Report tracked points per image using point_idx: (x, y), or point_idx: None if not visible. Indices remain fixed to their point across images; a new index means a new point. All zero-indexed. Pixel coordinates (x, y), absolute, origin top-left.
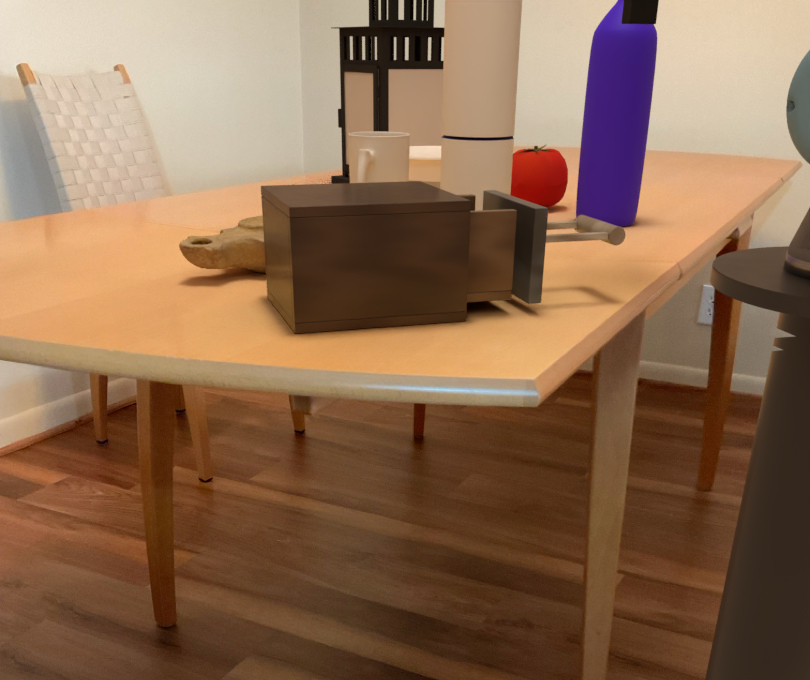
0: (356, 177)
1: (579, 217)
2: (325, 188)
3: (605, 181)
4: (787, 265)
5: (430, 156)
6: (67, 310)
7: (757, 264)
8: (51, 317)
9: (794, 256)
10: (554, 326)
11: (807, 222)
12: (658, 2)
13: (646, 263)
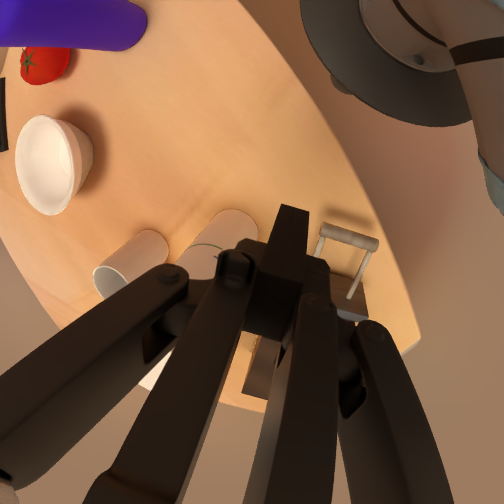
0: None
1: (324, 236)
2: (266, 382)
3: (117, 36)
4: (386, 53)
5: (24, 154)
6: (236, 396)
7: (355, 49)
8: (244, 401)
9: (397, 57)
10: (383, 288)
11: (403, 43)
12: (308, 224)
13: (286, 102)
